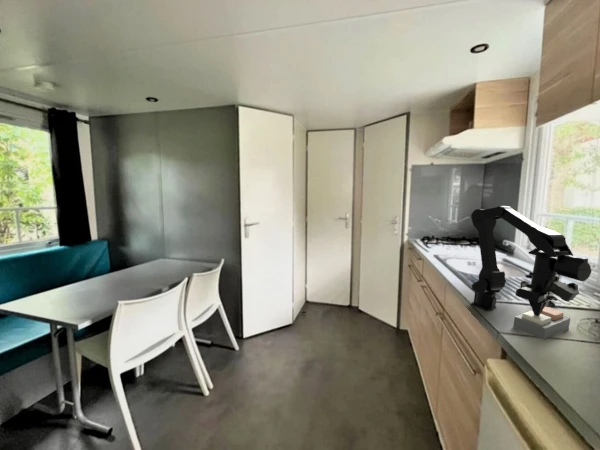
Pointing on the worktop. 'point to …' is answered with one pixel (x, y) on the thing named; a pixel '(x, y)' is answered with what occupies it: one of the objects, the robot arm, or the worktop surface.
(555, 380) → the worktop surface
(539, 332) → the keypad
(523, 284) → the can opener
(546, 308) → the terracotta key
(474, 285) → the robot arm
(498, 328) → the worktop surface
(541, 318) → the cream key
